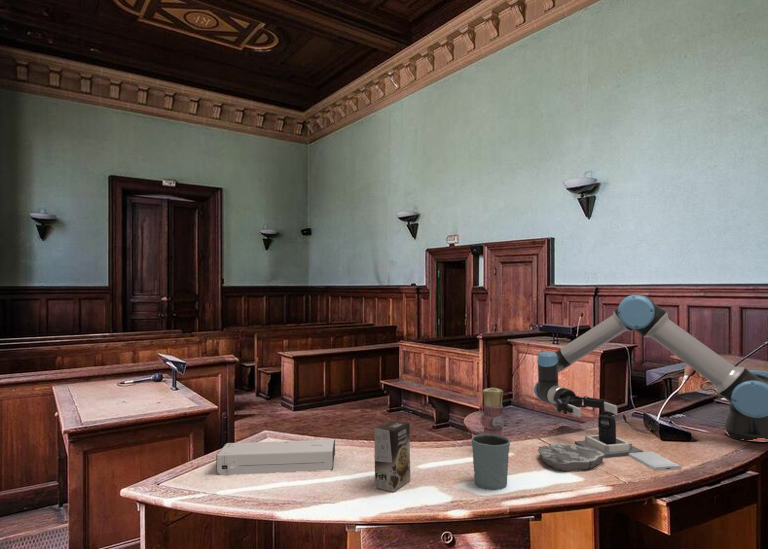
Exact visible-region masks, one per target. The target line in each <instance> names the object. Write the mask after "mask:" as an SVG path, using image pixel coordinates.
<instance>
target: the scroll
mask: <svg viewBox="0 0 768 549" xmlns="http://www.w3.org/2000/svg"><path fill="white" fill-rule="evenodd" d="M482 395H483V405H482V406H483V408H482V409H483V414H481V415H480V419H479V420H480V421H479V422H480V424H481V427H483V432H482V434H495V435H500V436H503V435H504V432H503V428H504V426H505V420H504V418H503V417H504V415H503V410H504V406H503V398H504V397H503V395H504V390H503V389H501V388H498V387H489V388H487V387H486V388H484V389H483V390H482Z"/></svg>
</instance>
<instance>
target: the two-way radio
mask: <svg viewBox="0 0 768 549" xmlns="http://www.w3.org/2000/svg"><path fill="white" fill-rule="evenodd" d="M601 399H602V400H601V408H600V412H601V413H600V414H599V415H598V420H597V425H598V427H597V428H598V435H599V441H600V442H602V443H604V444H606V445H612V444H616V437H617V423H616V417H614V415H613V413H611V412H608V411H607V414H606V411H605V410H604V400H605V399H604V398H601Z"/></svg>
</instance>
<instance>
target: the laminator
mask: <svg viewBox="0 0 768 549" xmlns="http://www.w3.org/2000/svg"><path fill="white" fill-rule="evenodd" d="M335 456H336V439H319V440H317V439H315V440H314V439H312V440H310V439H309V440H286V441H285V440H284V441H283V440H282V441H280V440H279V441H256V442H254V441H253V442H251V441H250V442H226V443H225V444H224V445H223V446H222V448H221V449H220V450H219V451H218V452H217V454H216V456H215V460H216V462H215V463H216V466H215V467H216V471H215V472H216V473H217V475H218V476H224V475H226V476H227V475H251V474H252V475H254V474H255V475H256V474H274V473H275V474H277V473H276V472H282V473H297V472H296V471H308V472H318V471H317V470H331V471H333V469H334V461H335Z"/></svg>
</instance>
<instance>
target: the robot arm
mask: <svg viewBox="0 0 768 549" xmlns="http://www.w3.org/2000/svg"><path fill="white" fill-rule="evenodd" d="M633 330H634V331H635V332H636V333H638V334H639V335H641V336H642V337H643V338H652V339H653V340H654V341H655V342H657V343H658V344H660V345H661V346H662V347H663V348H665V349H666V350H667V351H669V352H671V353H672V354H673V355H674V356H675V357H676V358H678V359H680V360H681V362H683V363H685V364H686V365H687V366H689V367H690V368H691V369H692V370H694V371H695V372H697V373H698V374H700V375H701V376H702V377H704V378H705V379H706V380H708V381H709V382H710V383H712V384H713V385H714V386H715V387H716V393H717V394H718V395H720V396H721V397H722V398H724V399H725V400H727V401H728V403H729V413H728V415H727V419H726V423H725V425H724V428H723V429H725V430H726V431H727V432H728V434H729V435H730V436H731V437H730V438H732V437H734V438H733V439H735V438H737V439H736V440H738V439H744V440H753V439H757V438H765V439H768V371H766V370H753V369H752V370H751V369H748V368H746V367H744V366H734V365H733V364H732V363H731V362H729V361H727V360H726V359H725V358H724V357H723V356H720V355H719V354H718V353H716V352H715V351H714V350H712V349H711V348H710V347H708V346H707V345H706V344H704V343H702V342H701V341H700V340H699V339H697V338H695V337H694V336H693V335H691V334H690V333H689V332H687V331H686V330H685V329H683V328H682V327H680V326H679V325H678V324H676V323H675V322H673V321H672V320H670V319H669V315H668V312H667V310H664V309H663V308H661V307H660V306H658V304H656V303H655V302H654V300H653V299H652V298H650V297H649V296H647V295H643V294H632V295H628V296H625V297H624V298H623V300H621V301H620V303H619V305H618V307H617V309H615V310H613V313H612V315H611V316H608V318H606V319H605V320H603V321H601V322H600V323H598V324H597V325H595V326H594V327H592V328H591V329H589V330H587V331H586V332H585V333H583V334H581V335H579V336H577V337H576V338H575V339H573V340H572V341H570V342H569V343H567V344H566V345H564V346H563V347H561V348H560V349H558V350H556V351H554V352H551V351H543V352H539V353H538V355H537V374H538V375H537V378H538V379H537V380H538V381H537V382H536V383H535V385H534V387H533V393H534V395H535V397H537V399H540V401H542V402H545V403H547V404H550V405H553V406H554V407H555V409H556V412H558V413H561V412H563V414H564V415H568V414H571V415H573V416H575V417H578V418H581V417H582V408H583V409H584V408H593V409H596V408H597V409H601V400H602V399H603V398H595V397H589V396H587V395H584V396H579V395H576V393H575V392H574V391H573V390H571V389H569V388H566V387H563V386H559V373H560V372H562V371H564V370H565V369H567V368H568V367H570V366H571V365H573V364H575V363H576V362H577V361H579V360H581V359H582V358H584V357H586V356H587V355H589V354H590V353H592V352H594V351H596V350H597V349H599V348H600V347H602V346H604V345H605V344H607V343H609V342H610V341H612V340H613V339H615V338H617V337H618V336H620V335H622V334H623V333H625V332H631V331H633ZM603 400H604V410H605V412H607V413H608V412H611V413H612V415H613V414H614V415H618V405H616V404H612V403H611V401H610V400H607V399H603Z"/></svg>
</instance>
